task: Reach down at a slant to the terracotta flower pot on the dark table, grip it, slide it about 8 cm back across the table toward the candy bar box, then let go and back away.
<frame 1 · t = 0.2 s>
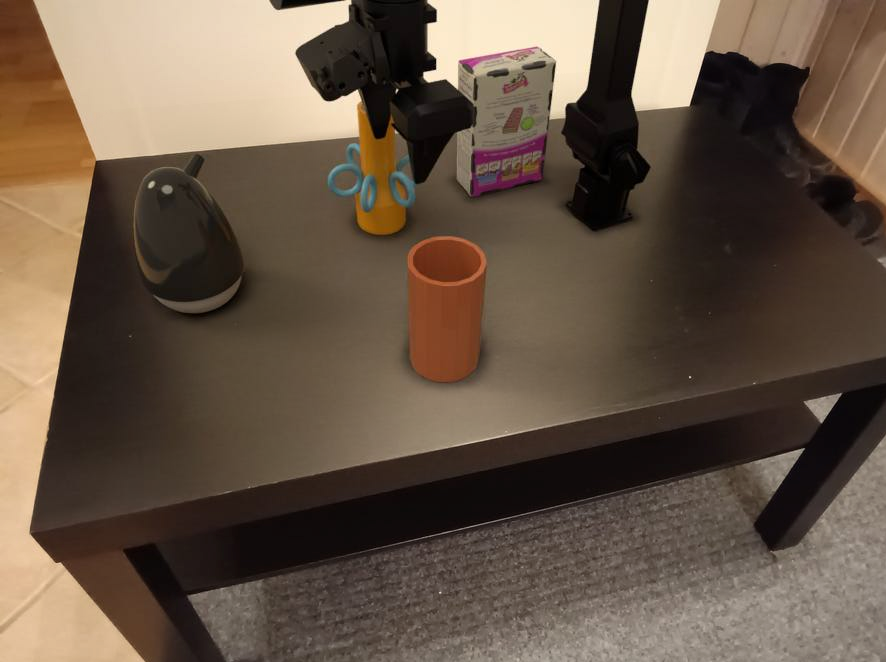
hand: (398, 159, 69), 15 cm above the table, tool pointing down, fingers open, 9 cm apart
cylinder: (382, 223, 87), on the table
candy bar box: (498, 181, 95), on the table
pot: (444, 357, 71), on the table
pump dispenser: (202, 296, 76), on the table
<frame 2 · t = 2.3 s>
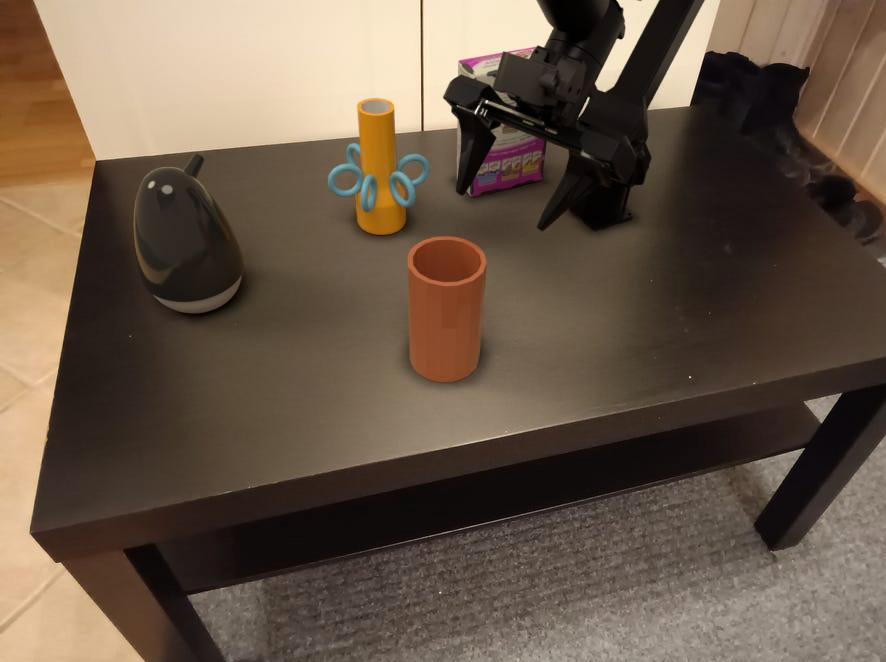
hand: (498, 211, 66), 13 cm above the table, tool tilted 45°, fingers open, 9 cm apart
nothing on the table moved.
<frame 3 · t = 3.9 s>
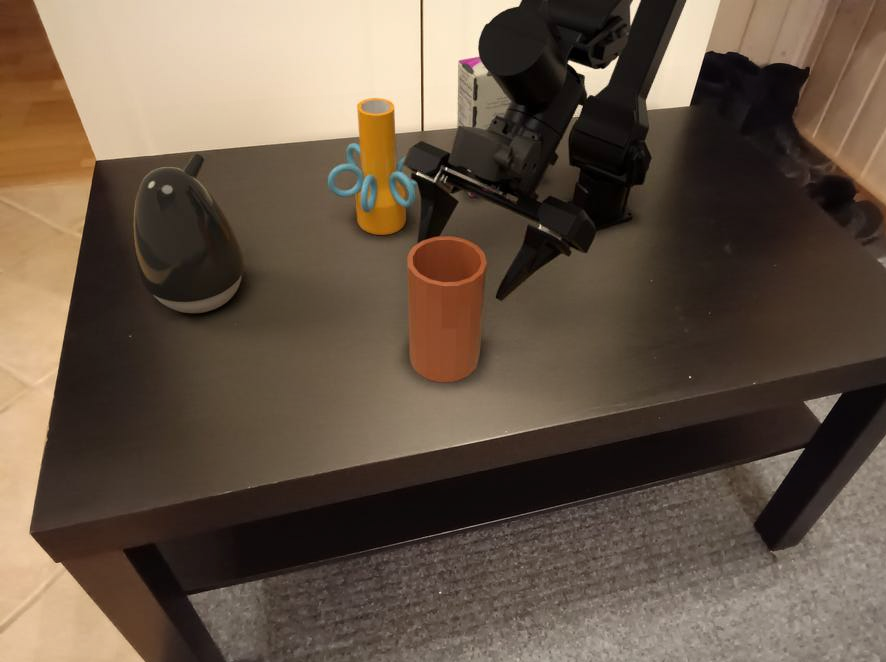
hand: (457, 279, 66), 9 cm above the table, tool tilted 45°, fingers open, 9 cm apart
nothing on the table moved.
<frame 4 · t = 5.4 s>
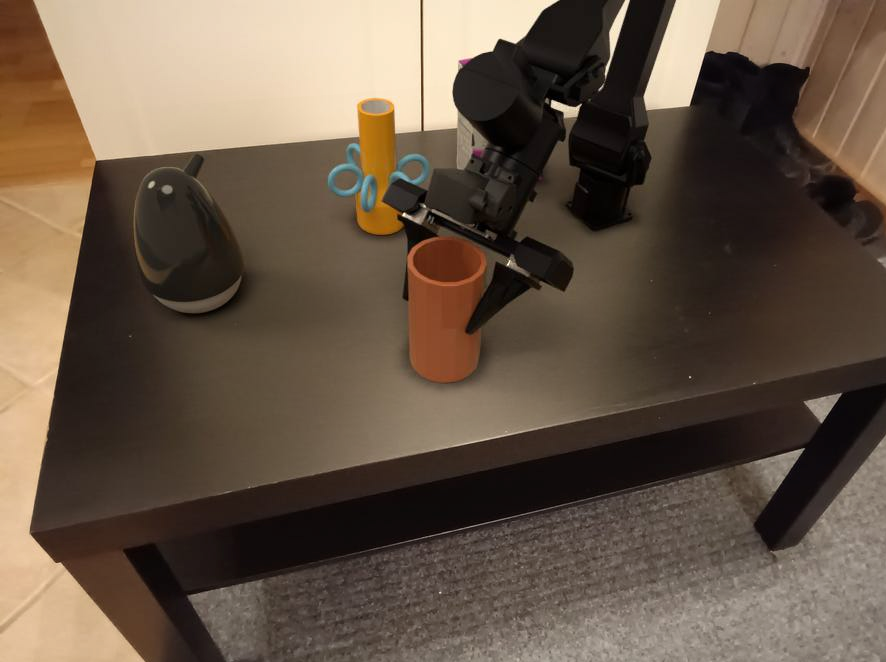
hand: (436, 316, 66), 7 cm above the table, tool tilted 45°, fingers closed on pot, 7 cm apart
pot: (444, 357, 71), on the table, touching gripper
everything else where it was.
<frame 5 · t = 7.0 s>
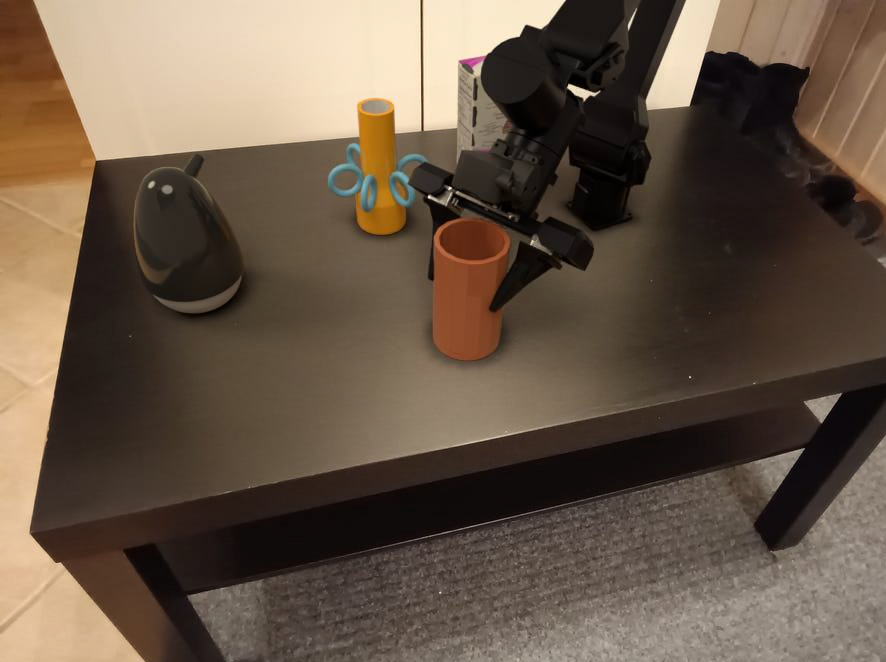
hand: (460, 295, 68), 7 cm above the table, tool tilted 45°, fingers closed on pot, 7 cm apart
pot: (466, 336, 73), on the table, touching gripper
everything else where it was.
when the fingers open (7 cm above the table, at t = 8.6 s): pot stays where it is, on the table.
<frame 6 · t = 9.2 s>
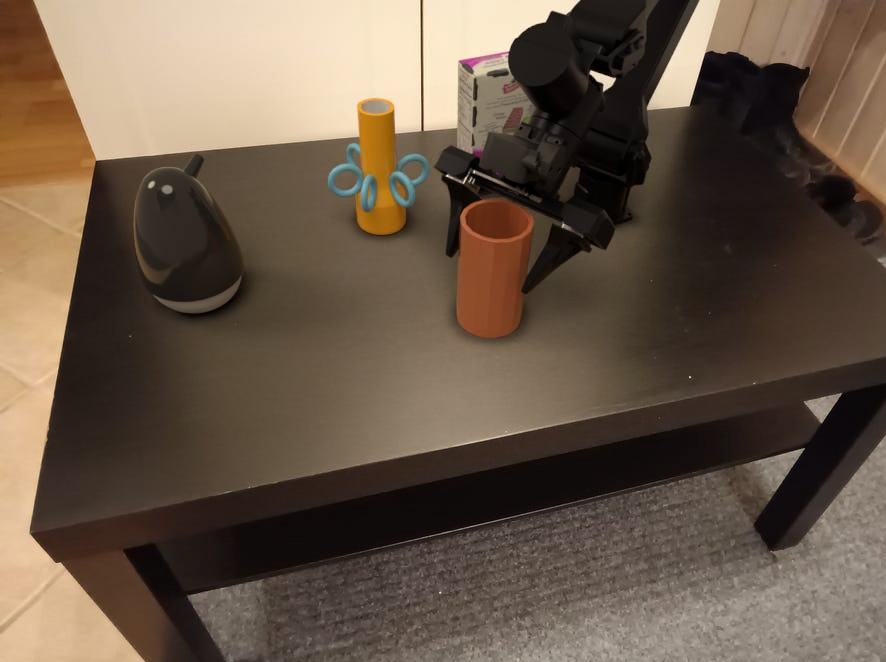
hand: (485, 274, 70), 7 cm above the table, tool tilted 45°, fingers open, 9 cm apart
pot: (488, 315, 76), on the table
everything else where it was.
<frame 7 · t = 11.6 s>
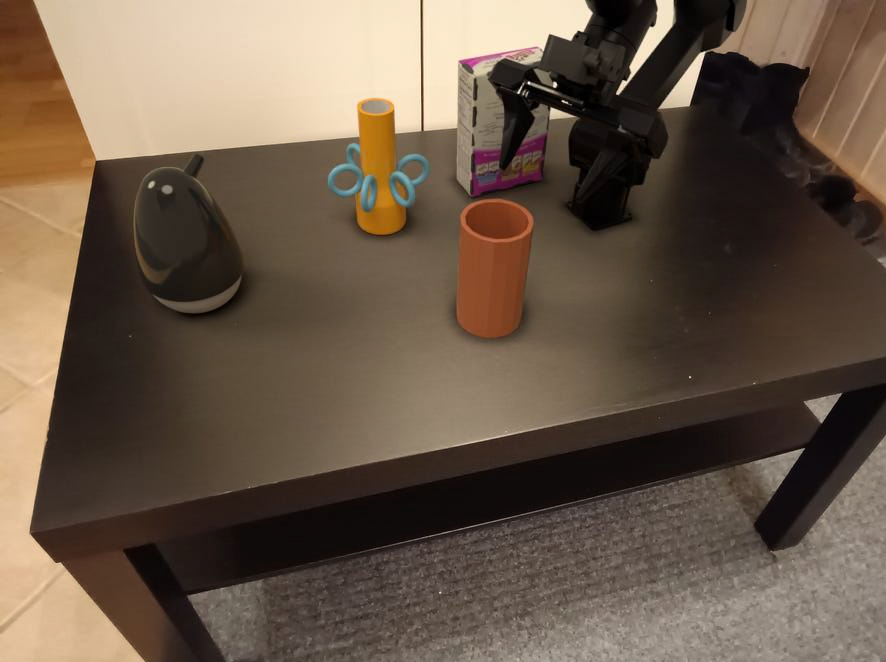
hand: (538, 184, 71), 13 cm above the table, tool tilted 45°, fingers open, 9 cm apart
nothing on the table moved.
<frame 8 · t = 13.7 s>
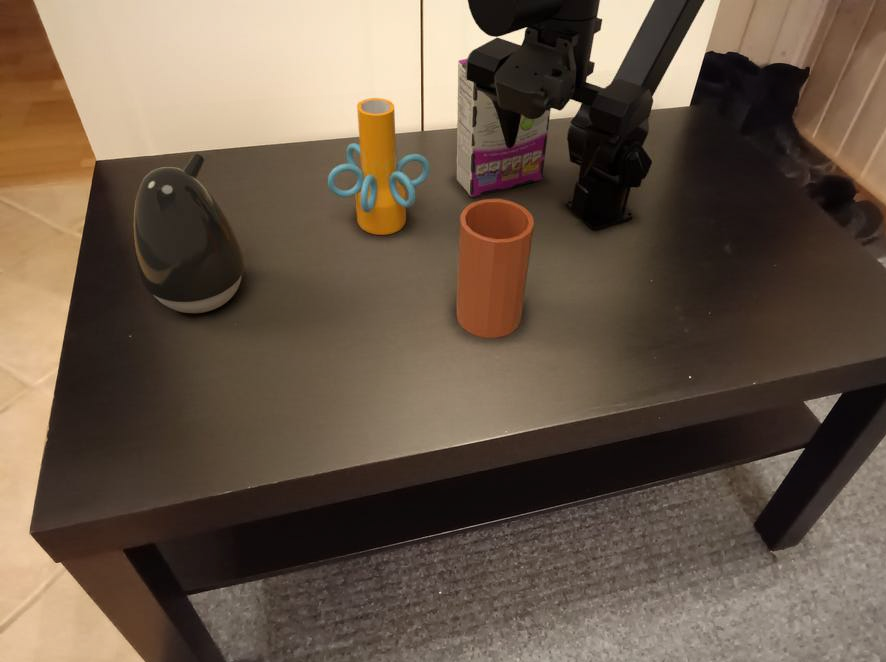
hand: (545, 161, 76), 12 cm above the table, tool pointing down, fingers open, 9 cm apart
nothing on the table moved.
at the end: pot moved 7.9 cm from its start; pot 27.1 cm from the candy bar box (horizontally); pot tilted 0° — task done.
